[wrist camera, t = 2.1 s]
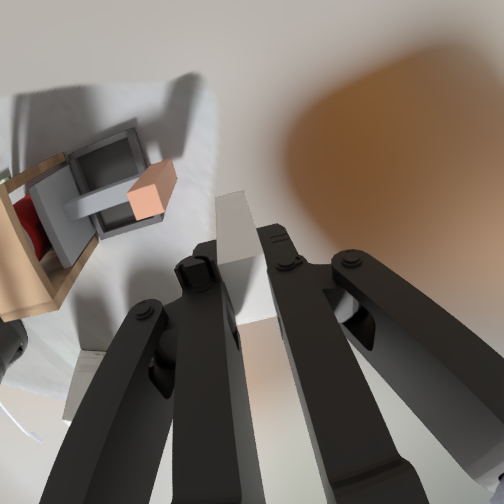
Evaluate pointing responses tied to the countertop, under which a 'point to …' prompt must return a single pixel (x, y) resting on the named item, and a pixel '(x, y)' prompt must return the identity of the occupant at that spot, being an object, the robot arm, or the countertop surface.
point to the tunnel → (31, 259)
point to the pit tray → (111, 179)
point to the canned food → (32, 226)
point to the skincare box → (81, 381)
